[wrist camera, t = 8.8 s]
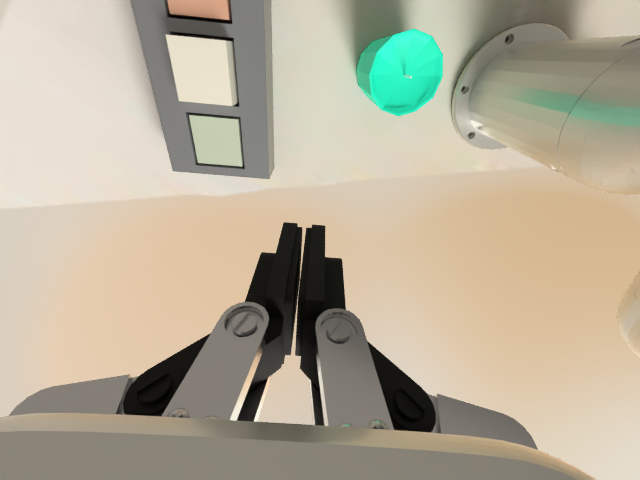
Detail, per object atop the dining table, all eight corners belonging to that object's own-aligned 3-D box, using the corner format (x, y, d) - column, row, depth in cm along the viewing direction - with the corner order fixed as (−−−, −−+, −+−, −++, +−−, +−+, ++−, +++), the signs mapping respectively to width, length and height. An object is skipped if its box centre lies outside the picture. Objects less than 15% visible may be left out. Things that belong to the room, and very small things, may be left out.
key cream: (235, 42, 27) (225, 40, 24) (240, 101, 30) (232, 106, 27) (181, 36, 26) (165, 34, 24) (191, 97, 29) (178, 101, 27)
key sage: (245, 114, 32) (238, 119, 29) (248, 158, 35) (242, 166, 32) (200, 110, 32) (188, 115, 29) (207, 154, 35) (197, 162, 32)
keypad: (269, -67, 24) (261, -87, 21) (274, 167, 37) (269, 179, 33) (135, -83, 23) (104, -106, 20) (186, 160, 36) (172, 171, 33)
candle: (347, 57, 29) (359, 57, 19) (399, 24, 28) (441, 6, 18) (368, 109, 32) (387, 133, 22) (416, 82, 30) (459, 95, 21)
